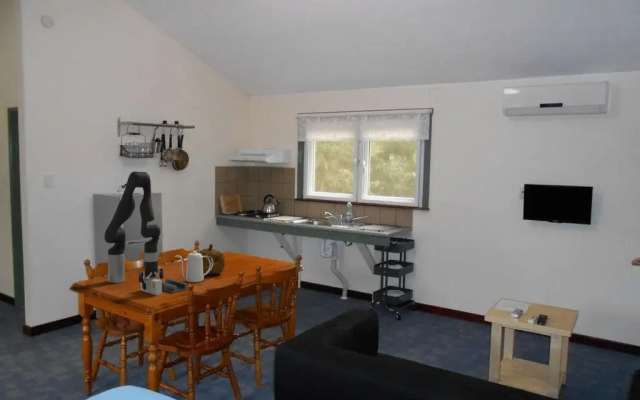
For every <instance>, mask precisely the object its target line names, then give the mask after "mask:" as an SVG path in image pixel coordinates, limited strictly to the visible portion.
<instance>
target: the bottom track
mask: <svg viewBox="0 0 640 400" xmlns="http://www.w3.org/2000/svg"><path fill="white" fill-rule="evenodd" d="M187 285H189V283H186V282H182V281H179V280H176V279H173V278H172V279H171V278H168V277H167V278H165V279H164V281H162V291H164V292H166V293H167V292H168V293H171V294H175V293H178V292H183V291H188V290H187Z"/></svg>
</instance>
